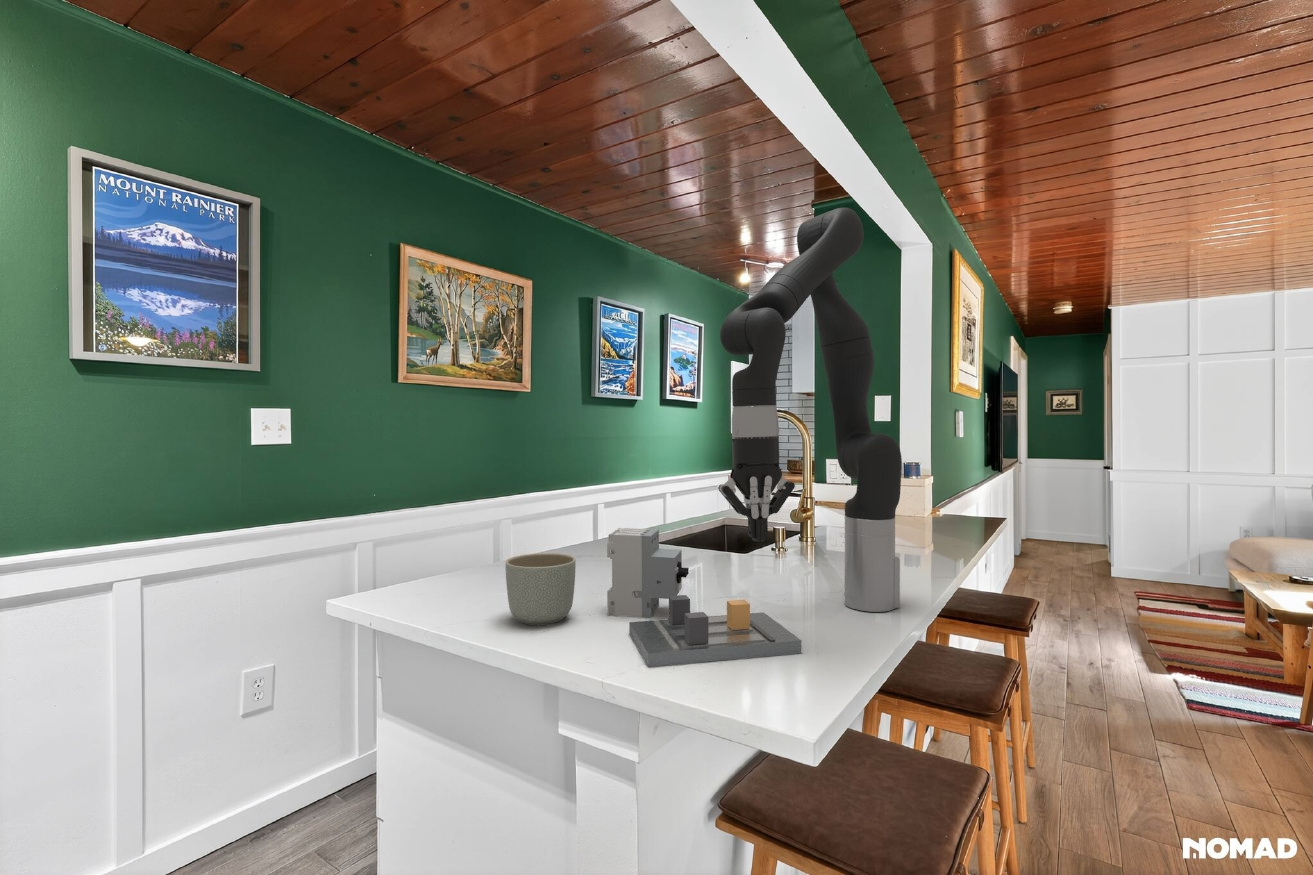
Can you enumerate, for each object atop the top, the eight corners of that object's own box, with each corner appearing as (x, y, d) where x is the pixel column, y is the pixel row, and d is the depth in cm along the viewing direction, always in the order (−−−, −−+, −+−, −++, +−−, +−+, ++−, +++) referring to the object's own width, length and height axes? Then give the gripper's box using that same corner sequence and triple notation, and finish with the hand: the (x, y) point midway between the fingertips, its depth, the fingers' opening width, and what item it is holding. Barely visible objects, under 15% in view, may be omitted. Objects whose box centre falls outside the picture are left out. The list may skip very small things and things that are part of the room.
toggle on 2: (703, 637, 98) (703, 611, 98) (708, 643, 96) (708, 616, 96) (684, 639, 98) (684, 613, 98) (689, 644, 95) (689, 618, 95)
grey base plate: (763, 623, 113) (763, 611, 113) (801, 653, 98) (801, 639, 98) (629, 633, 107) (629, 620, 107) (648, 667, 93) (648, 651, 93)
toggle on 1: (685, 618, 108) (685, 594, 108) (690, 623, 106) (690, 599, 106) (668, 619, 108) (668, 596, 107) (672, 624, 105) (672, 600, 105)
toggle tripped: (744, 623, 105) (744, 599, 105) (750, 628, 103) (750, 603, 103) (726, 625, 105) (726, 600, 104) (732, 630, 102) (732, 605, 102)
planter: (588, 614, 118) (588, 556, 118) (550, 634, 107) (549, 570, 107) (533, 606, 124) (532, 550, 123) (491, 625, 112) (490, 563, 112)
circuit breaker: (684, 620, 115) (684, 537, 114) (607, 615, 118) (607, 534, 117) (690, 608, 122) (690, 530, 122) (618, 604, 125) (617, 527, 125)
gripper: (783, 432, 109) (786, 533, 109) (709, 435, 106) (712, 539, 106) (803, 433, 101) (806, 541, 102) (723, 436, 99) (727, 548, 99)
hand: (758, 540), depth 104 cm, fingers closed
